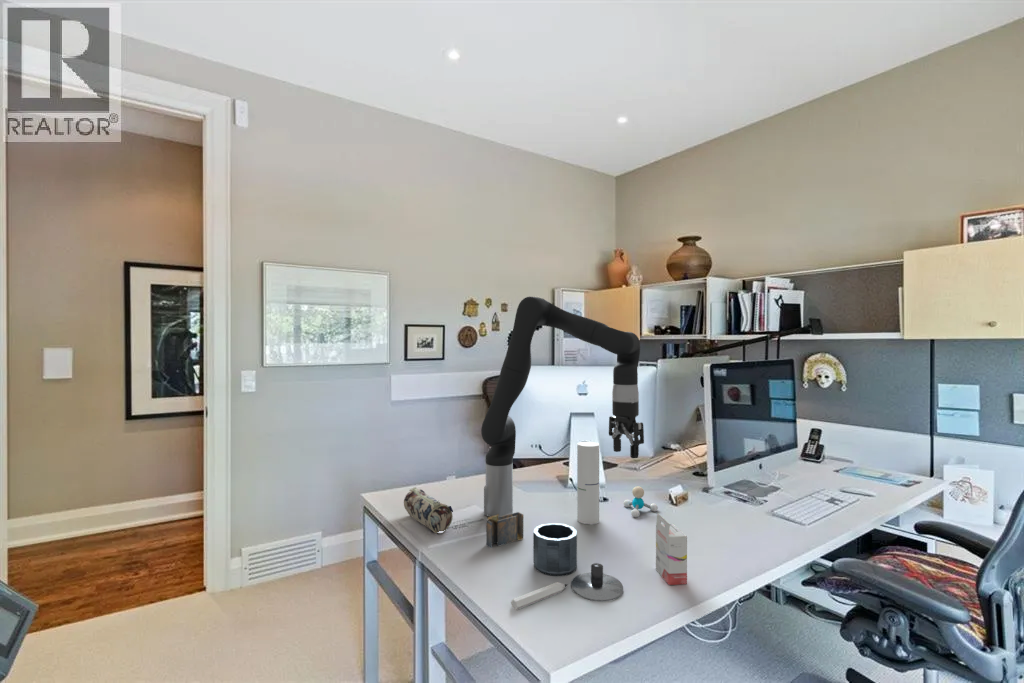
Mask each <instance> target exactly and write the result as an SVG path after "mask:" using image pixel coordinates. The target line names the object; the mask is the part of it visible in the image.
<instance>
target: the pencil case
mask: <svg viewBox="0 0 1024 683" xmlns="http://www.w3.org/2000/svg"><path fill="white" fill-rule="evenodd" d="M403 506H404V507H403V508H404V509H405V510H406V512H407V514H408V515H409V516H410V517H412V518H413V519H414V520H415V521H417V522H418V523H420V524H421V525H425V527H426V528H427V529H429V530H431V531H432V532H433V533H434V534H437V532H439V531H444V530H446V529H447V530H448V528H450V526H451V524H452V522H453V517H454V516H453V513H454V510H453V508H452V506H451V505H447V504H446V503H442V502H440V501H439V500H438V499H436V498H435V497H433V496H431V495H428V494H427V493H426V492H425V491H424V490H423V489H421V488H417V486H415V487H411V488H409V492H407V494H405V497H404V500H403ZM447 530H446V531H447Z"/></svg>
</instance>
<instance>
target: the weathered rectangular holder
mask: <svg viewBox="0 0 1024 683" xmlns="http://www.w3.org/2000/svg"><path fill="white" fill-rule="evenodd" d="M498 516H499V514H498V515H495V516H491V517H489V516H488V517H487V519H486V521H485V522H486V525H485V526H486V527H485V528H486V534H485V536H486V538H485V539H486V546H487V547H489V548H490V549H493V544H497V545H496V546H497V547H499V546H503V545H506V544H510V543H513V542H517V541H520V540H523V539H524V514H523V513H521V512H520V511H516V512H513V513H512V514H508V515H504V516H500V517H498Z"/></svg>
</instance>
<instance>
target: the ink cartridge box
mask: <svg viewBox="0 0 1024 683" xmlns="http://www.w3.org/2000/svg"><path fill="white" fill-rule="evenodd" d="M655 524H656V525H655V570H656V571H657V572H658V574H659V575H660V576H661V578H662V579H663V580H664V581H665V582H666V583H667V584H668V585H669V586H677V585H688V536H687V535H686V534H685V533H684V532H683V531H682V530H681V529H680V528H678V526H677V525H675V524H674V523H669V522H668V521H667V520H666V519H665V518H664V517H663V516H662V515H661V514H660V513H659V512H657V514H656V523H655Z"/></svg>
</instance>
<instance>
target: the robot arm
mask: <svg viewBox="0 0 1024 683" xmlns="http://www.w3.org/2000/svg"><path fill="white" fill-rule="evenodd" d="M513 323H514V324H513V328H512V332H511V336H510V341H509V344H508V345H507V346H508V347H507V351H506V354H505V357H504V360H503V363H502V366H501V369H500V372H499V377H498V379H497V380H498V381H497V383H496V387H495V390H494V392H493V397H492V399H491V402H490V406H489V407H488V409H487V412H486V414H485V416H484V419H483V421H482V423H481V424H482V425H481V428H480V429H481V431H480V433H481V437H482V439H483V442H484V443H486V444H487V445H489V446H491V447H490V449H489V450H488V452H487V453H486V455H485V485H484V486H483V516H488V517H491V516H495V515H498V514H499V516H498V517H500V516H504V515H508V514H512V513H514V512H513V511H514V510H513V508H514V506H513V503H514V502H513V501H514V500H513V496H514V495H513V492H514V489H513V488H514V484H513V481H514V480H513V479H514V478H513V477H514V476H513V473H514V472H513V471H514V470H513V468H514V465H513V460H514V457H515V453H516V436H517V435H516V434H517V432H516V431H517V429H516V424H515V421H514V420H513V418H512V417H511V416H509V414H510V411H511V408H512V406H513V405H514V403H515V402H516V401H517V399H518V398H519V396H520V395H521V394H522V393H523V390H524V388H525V386H526V385H527V381H528V378H529V376H530V373H531V372H530V371H531V368H532V348H531V347H532V342H533V337H534V334H535V331H536V329H537V327H538V326H544V327H550V328H555V329H558V330H561V331H563V332H565V333H567V334H569V335H570V336H572V337H574V338H575V339H578V340H580V341H582V342H586V343H588V344H591V345H594V346H598V347H600V348H601V349H604V350H605V351H607V352H610V353H611V354H615V355H616V356H617V357H616V364H615V365H614V366H613V370H612V371H613V372H612V373H613V374H612V377H613V378H612V379H613V380H612V384H613V386H612V393H611V394H612V395H611V396H612V397H611V398H612V401H611V402H612V404H611V405H612V409H611V410H612V415H613V416H612V415H609V417H608V418H609V419H608V436H609V437H611V439H612V440H613V442H612V443H613V446H612V447H613V452H616V453H619V452H621V451H622V439H621V438H622V436H623V435H624V436H625V437H626V439H628V441H629V443H630V448H629V449H630V450H629V452H630V454H629V455H630V458H631V459H638V458H639V452H640V450H639V449H640V448H639V446H640V445H643V444H645V435H644V434H645V433H644V432H645V430H644V423H643V422H642V421H641V422H640V421H639V422H637V420H636V418H637V417H638V416H639V414H640V412H639V410H640V409H639V407H640V404H639V400H640V399H639V396H640V394H639V392H640V391H639V387H638V386H639V383H638V381H639V378H638V376H639V374H638V368H639V367H638V366H639V362H640V361H639V360H640V354H641V341H640V339H639V337H638V335H637V334H636V333H634V332H632V331H623V330H620V329H616V328H613V327H610V326H609V325H608V324H605V323H603V322H600V321H596V320H595V319H591V318H588V317H584V316H582V315H578V314H575V313H572V312H569V311H567V310H564V309H562V308H560V307H558V306H556V305H555V304H553V303H551V302H550V301H548V300H546V299H544V298H542V297H538V296H537V297H536V296H526V297H524V298H523V299H522V300H521V301H519V304H518V306H517V308H516V313H515V318H514V322H513Z"/></svg>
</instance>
